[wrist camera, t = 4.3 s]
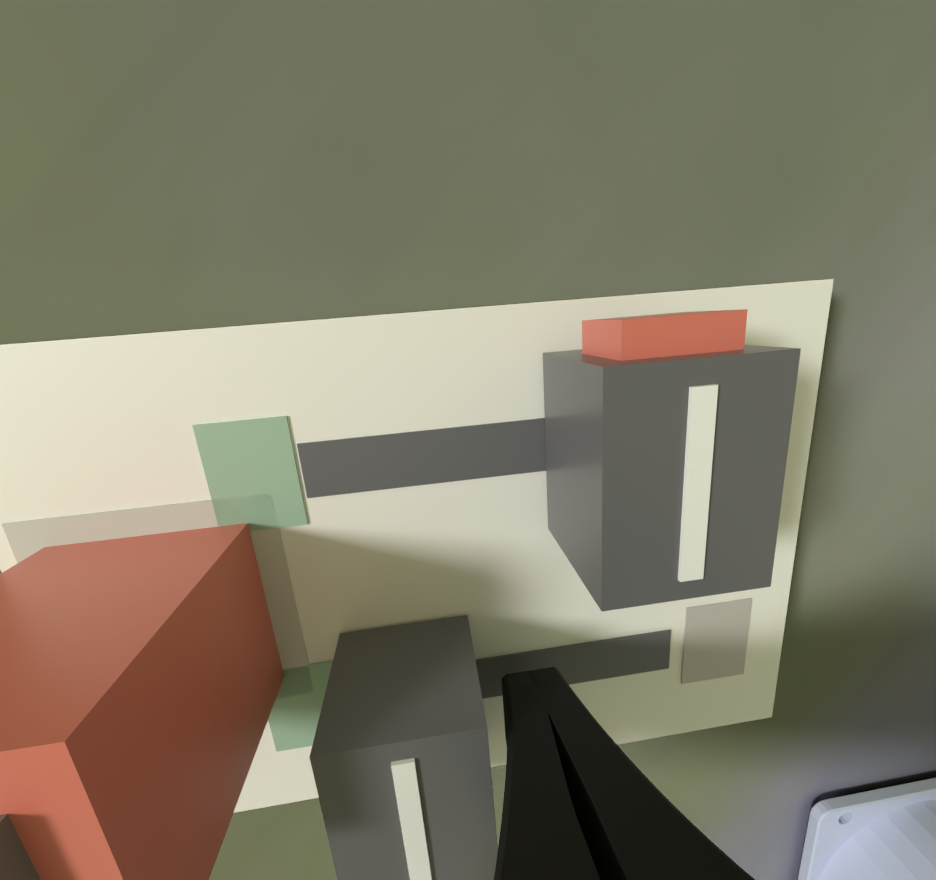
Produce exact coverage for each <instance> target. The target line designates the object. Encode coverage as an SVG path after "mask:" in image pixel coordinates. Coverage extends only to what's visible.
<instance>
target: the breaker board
mask: <svg viewBox="0 0 936 880" xmlns="http://www.w3.org/2000/svg"><path fill="white" fill-rule="evenodd" d="M832 286H833V279H828V280H815V281H802V282H790V283H777V284H764V285H752V286H739V287H727V288H714V289H701V290H689V291H676V292H663V293H651V294H638V295H626V296H613V297H600V298H588V299H575V300H562V301H550V302H537V303H525V304H512V305H499V306H487V307H474V308H461V309H449V310H436V311H424V312H411V313H398V314H386V315H373V316H360V317H348V318H335V319H323V320H310V321H297V322H285V323H272V324H259V325H247V326H234V327H221V328H209V329H196V330H184V331H171V332H158V333H146V334H133V335H120V336H108V337H95V338H83V339H70V340H57V341H45V342H32V343H19V344H7V345H0V570H1V572H2V573H3V572H4V571H6V570H8V569H9V568H11V567H13V566H14V565H16V564H18V563H19V562H21V561H22V560H24V559H26V558H27V557H29V556H31V555H32V554H34V553H36V552H37V551H39V550H41V549H42V548H44V547H51V546H59V545H68V544H76V543H84V542H93V541H101V540H109V539H118V538H126V537H135V536H143V535H151V534H160V533H168V532H177V531H185V530H193V529H202V528H210V527H218V526H227V525H235V524H244V523H248V526H249V530H250V534H251V538H252V543H253V547H254V551H255V555H256V559H257V564H258V568H259V572H260V576H261V581H262V585H263V589H264V593H265V597H266V602H267V606H268V610H269V614H270V619H271V623H272V627H273V631H274V635H275V640H276V644H277V648H278V652H279V657H280V661H281V665H282V669H283V673H284V678H283V681H282V683H281V686H280V689H279V691H278V694H277V697H276V700H275V702H274V705H273V708H272V710H271V713H270V716H269V718H268V721H267V724H266V726H265V729H264V732H263V734H262V737H261V740H260V743H259V745H258V748H257V751H256V753H255V756H254V759H253V761H252V764H251V767H250V769H249V772H248V775H247V777H246V780H245V783H244V786H243V788H242V791H241V794H240V796H239V799H238V802H237V804H236V807H235V810H234V812H233V813H235V812H240V811H246V810H252V809H257V808H263V807H268V806H274V805H280V804H285V803H291V802H297V801H302V800H308V799H314V798H319V796H318V792H317V788H316V783H315V779H314V775H313V770H312V766H311V762H310V758H309V757H310V753H311V749H312V745H313V741H314V737H315V733H316V728H317V724H318V720H319V716H320V712H321V708H322V704H323V700H324V696H325V692H326V688H327V684H328V679H329V675H330V671H331V667H332V663H333V659H334V655H335V651H336V647H337V643H338V639H339V634H340V633H345V632H352V631H359V630H366V629H373V628H380V627H387V626H394V625H401V624H407V623H414V622H421V621H428V620H435V619H442V618H449V617H456V616H463V615H468V621H469V627H470V632H471V638H472V643H473V649H474V655H475V660H476V666H477V672H478V677H479V683H480V689H481V694H482V700H483V706H484V711H485V717H486V723H487V729H488V741H489V753H490V765H491V767H494V766H500V765H505V764H507V744H506V737H505V722H504V708H503V694H502V680H501V679H502V678H503V677H504V676H505V675H506V674H511V673H517V672H523V671H530V670H536V669H542V668H548V667H555V668H556V669H558V670H559V672H560V673H561V675H562V676H563V678H564V679H565V680H566V682H567V683H568V684H569V686H570V687H571V689H572V690H573V691H574V693H575V694H576V695H577V697H578V698H579V699H580V701H581V702H582V703H583V704H584V706H585V707H586V708H587V709H588V711H589V712H590V713H591V714H592V716H593V717H594V718H595V719H596V721H597V722H598V723H599V724H600V726H601V727H602V728H603V729H604V730H605V731H606V733H607V734H608V735H609V736H610V737H611V738H612V740H613V741H614V742H615V743H616V744H617V745H618V744H624V743H629V742H635V741H640V740H646V739H652V738H657V737H663V736H669V735H674V734H680V733H686V732H691V731H697V730H702V729H708V728H714V727H719V726H725V725H731V724H736V723H742V722H748V721H753V720H759V719H764V718H770V717H772V713H773V706H774V699H775V691H776V684H777V677H778V670H779V663H780V656H781V649H782V642H783V635H784V627H785V620H786V613H787V606H788V599H789V592H790V585H791V578H792V571H793V564H794V556H795V549H796V542H797V535H798V528H799V521H800V514H801V507H802V500H803V492H804V485H805V478H806V471H807V464H808V457H809V450H810V443H811V436H812V429H813V421H814V414H815V407H816V400H817V393H818V386H819V379H820V372H821V365H822V358H823V350H824V343H825V336H826V329H827V322H828V315H829V308H830V301H831V294H832ZM743 309H748V311H747V322H746V333H745V344H744V345H757V346H772V347H787V348H801V351H800V359H799V367H798V375H797V383H796V391H795V399H794V407H793V415H792V422H791V430H790V438H789V446H788V454H787V462H786V470H785V478H784V486H783V493H782V501H781V509H780V517H779V525H778V533H777V541H776V549H775V557H774V564H773V572H772V580H771V587H765V588H758V589H751V590H745V591H738V592H731V593H724V594H717V595H711V596H704V597H697V598H690V599H684V600H677V601H670V602H663V603H657V604H650V605H643V606H636V607H629V608H623V609H616V610H609V611H601V610H600V608H599V607H598V605H597V604H596V602H595V601H594V599H593V597H592V596H591V594H590V593H589V591H588V590H587V588H586V587H585V585H584V583H583V582H582V580H581V579H580V577H579V576H578V574H577V573H576V571H575V569H574V568H573V566H572V565H571V563H570V562H569V560H568V559H567V557H566V555H565V554H564V552H563V551H562V549H561V548H560V546H559V545H558V543H557V542H556V540H555V538H554V537H553V535H552V534H551V532H550V531H549V529H548V509H547V477H546V445H545V413H544V381H543V353H546V352H557V351H568V350H580V349H582V320H594V319H606V318H618V317H630V316H642V315H654V314H666V313H678V312H694V311H719V310H743Z"/></svg>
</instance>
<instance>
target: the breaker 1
mask: <svg viewBox="0 0 936 880" xmlns="http://www.w3.org/2000/svg"><path fill="white" fill-rule="evenodd" d="M309 758H310V762H311V766H312V770H313V775H314V779H315V783H316V788H317V792H318V796H319V801H320V805H321V809H322V814H323V818H324V822H325V827H326V831H327V835H328V839H329V844H330V848H331V852H332V857H333V861H334V865H335V870H336V874H337V878H338V880H494V875H495V868H496V861H497V854H498V847H497V835H496V824H495V812H494V800H493V788H492V776H491V765H490V753H489V741H488V729H487V723H486V717H485V711H484V706H483V700H482V694H481V689H480V683H479V677H478V672H477V666H476V660H475V655H474V649H473V643H472V638H471V632H470V627H469V621H468V615H463V616H456V617H449V618H442V619H435V620H428V621H421V622H414V623H407V624H401V625H394V626H387V627H380V628H373V629H366V630H359V631H352V632H345V633H340V634H339V639H338V643H337V647H336V651H335V655H334V659H333V663H332V667H331V671H330V675H329V679H328V684H327V688H326V692H325V696H324V700H323V704H322V708H321V712H320V716H319V720H318V724H317V728H316V733H315V737H314V741H313V745H312V749H311V753H310V757H309Z"/></svg>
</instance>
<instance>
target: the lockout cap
mask: <svg viewBox="0 0 936 880" xmlns="http://www.w3.org/2000/svg"><path fill="white" fill-rule="evenodd" d="M283 678H284V673H283V669H282V665H281V661H280V657H279V652H278V648H277V644H276V640H275V635H274V631H273V627H272V623H271V619H270V614H269V610H268V606H267V602H266V597H265V593H264V589H263V585H262V581H261V576H260V572H259V568H258V564H257V559H256V555H255V551H254V547H253V543H252V538H251V534H250V530H249V526H248V523H244V524H235V525H227V526H218V527H210V528H202V529H193V530H185V531H177V532H168V533H160V534H151V535H143V536H135V537H126V538H118V539H109V540H101V541H93V542H84V543H76V544H68V545H59V546H51V547H44V548H42V549H41V550H39V551H37V552H36V553H34V554H32V555H31V556H29V557H27V558H26V559H24V560H22V561H21V562H19V563H18V564H16V565H14V566H13V567H11V568H9V569H8V570H6V571H4V572H3V573H1V574H0V880H209V877H210V874H211V871H212V869H213V866H214V863H215V861H216V858H217V855H218V853H219V850H220V847H221V845H222V842H223V839H224V837H225V834H226V831H227V828H228V826H229V823H230V820H231V818H232V815H233V812H234V810H235V807H236V804H237V802H238V799H239V796H240V794H241V791H242V788H243V786H244V783H245V780H246V777H247V775H248V772H249V769H250V767H251V764H252V761H253V759H254V756H255V753H256V751H257V748H258V745H259V743H260V740H261V737H262V734H263V732H264V729H265V726H266V724H267V721H268V718H269V716H270V713H271V710H272V708H273V705H274V702H275V700H276V697H277V694H278V691H279V689H280V686H281V683H282V681H283Z"/></svg>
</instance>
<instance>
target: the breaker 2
mask: <svg viewBox="0 0 936 880" xmlns="http://www.w3.org/2000/svg"><path fill="white" fill-rule="evenodd" d="M747 311H748V309H743V310H719V311H694V312H678V313H666V314H654V315H642V316H630V317H618V318H606V319H594V320H582V349H580V350H568V351H557V352H546V353H543V381H544V413H545V445H546V477H547V509H548V529H549V531H550V532H551V534H552V535H553V537H554V538H555V540H556V542H557V543H558V545H559V546H560V548H561V549H562V551H563V552H564V554H565V555H566V557H567V559H568V560H569V562H570V563H571V565H572V566H573V568H574V569H575V571H576V573H577V574H578V576H579V577H580V579H581V580H582V582H583V583H584V585H585V587H586V588H587V590H588V591H589V593H590V594H591V596H592V597H593V599H594V601H595V602H596V604H597V605H598V607H599V608H600V610H601V611H609V610H616V609H623V608H629V607H636V606H643V605H650V604H657V603H663V602H670V601H677V600H684V599H690V598H697V597H704V596H711V595H717V594H724V593H731V592H738V591H745V590H751V589H758V588H765V587H771V580H772V572H773V564H774V557H775V549H776V541H777V533H778V525H779V517H780V509H781V501H782V493H783V486H784V478H785V470H786V462H787V454H788V446H789V438H790V430H791V422H792V415H793V407H794V399H795V391H796V383H797V375H798V367H799V359H800V351H801V348H787V347H772V346H757V345H744V344H745V333H746V322H747Z"/></svg>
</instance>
